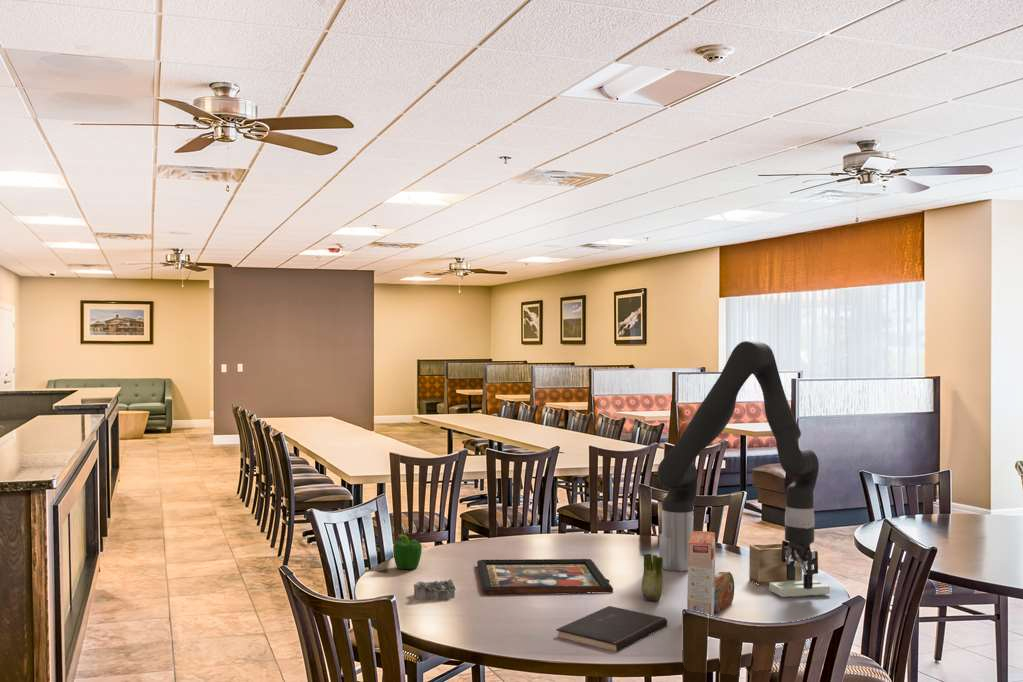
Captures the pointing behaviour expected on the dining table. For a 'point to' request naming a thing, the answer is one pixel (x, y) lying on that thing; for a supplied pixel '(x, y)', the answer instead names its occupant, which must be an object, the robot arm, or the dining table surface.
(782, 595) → the lid
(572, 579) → the framed icon painting
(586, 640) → the hardcover book
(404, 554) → the bell pepper
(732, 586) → the tin
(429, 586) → the egg carton
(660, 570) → the fennel bulb
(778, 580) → the oak box
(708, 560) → the cracker box
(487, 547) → the dining table surface
